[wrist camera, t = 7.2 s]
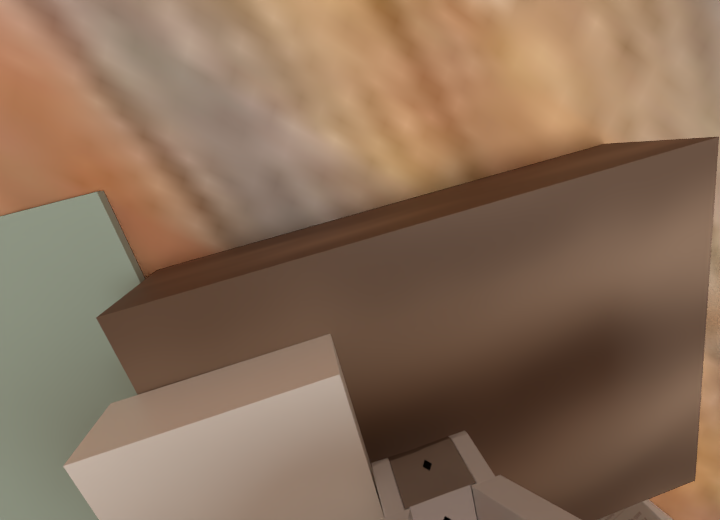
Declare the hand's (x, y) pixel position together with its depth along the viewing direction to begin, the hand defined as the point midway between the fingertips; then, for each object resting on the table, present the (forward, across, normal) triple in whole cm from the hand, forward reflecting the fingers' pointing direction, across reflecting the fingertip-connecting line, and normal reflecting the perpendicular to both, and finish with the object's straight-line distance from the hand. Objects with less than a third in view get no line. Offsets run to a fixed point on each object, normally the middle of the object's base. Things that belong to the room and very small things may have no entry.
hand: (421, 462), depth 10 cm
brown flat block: (+5, +2, 0) cm, 6 cm away
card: (+1, -4, 0) cm, 5 cm away
